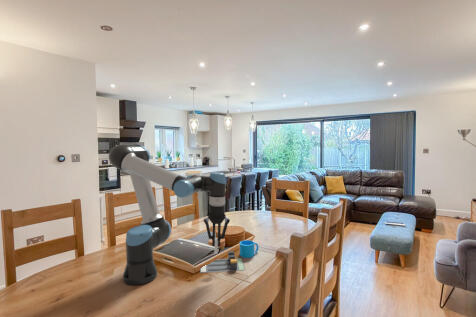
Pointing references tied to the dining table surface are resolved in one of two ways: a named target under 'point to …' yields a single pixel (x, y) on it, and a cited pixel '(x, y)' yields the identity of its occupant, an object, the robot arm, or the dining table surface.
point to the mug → (247, 248)
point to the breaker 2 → (231, 257)
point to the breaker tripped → (233, 264)
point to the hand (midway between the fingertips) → (215, 252)
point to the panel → (222, 266)
